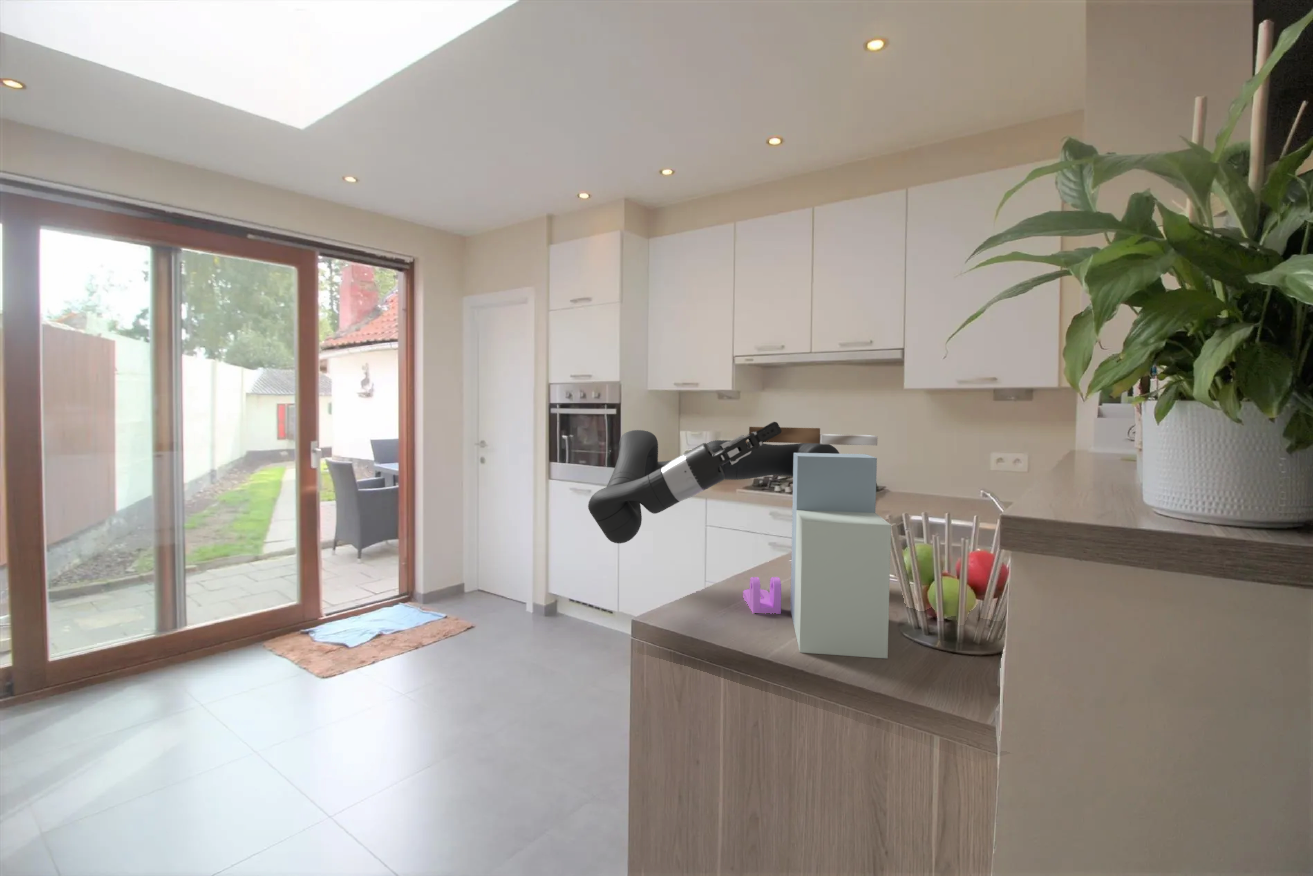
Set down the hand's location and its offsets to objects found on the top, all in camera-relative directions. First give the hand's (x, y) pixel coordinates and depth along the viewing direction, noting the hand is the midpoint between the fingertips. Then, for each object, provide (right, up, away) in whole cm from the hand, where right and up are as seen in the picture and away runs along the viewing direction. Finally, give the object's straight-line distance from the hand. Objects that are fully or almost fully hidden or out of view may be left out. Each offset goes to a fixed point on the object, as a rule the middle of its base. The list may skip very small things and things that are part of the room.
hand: (778, 426), depth 104 cm
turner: (+5, -3, -1) cm, 6 cm away
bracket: (0, -37, +21) cm, 42 cm away
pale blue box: (+11, -37, +5) cm, 39 cm away
